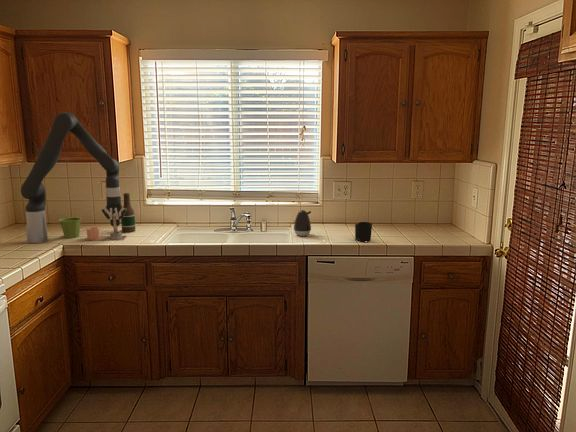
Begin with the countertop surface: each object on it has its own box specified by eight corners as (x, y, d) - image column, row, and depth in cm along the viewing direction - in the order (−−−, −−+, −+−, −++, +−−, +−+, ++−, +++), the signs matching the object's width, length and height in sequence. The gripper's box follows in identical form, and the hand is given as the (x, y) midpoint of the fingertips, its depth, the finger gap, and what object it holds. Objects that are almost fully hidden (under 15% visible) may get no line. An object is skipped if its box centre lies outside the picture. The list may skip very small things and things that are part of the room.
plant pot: (83, 235, 267) (81, 216, 265) (83, 239, 257) (82, 220, 255) (60, 237, 262) (58, 218, 260) (60, 241, 252) (58, 221, 250)
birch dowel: (113, 233, 255) (112, 215, 253) (114, 232, 257) (113, 215, 255) (117, 233, 256) (116, 215, 254) (118, 232, 258) (117, 215, 256)
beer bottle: (121, 234, 270) (118, 194, 265) (123, 231, 277) (120, 192, 273) (134, 234, 271) (132, 194, 267) (136, 231, 279) (134, 192, 274)
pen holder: (352, 238, 265) (353, 221, 263) (368, 238, 266) (369, 221, 264) (356, 242, 256) (357, 225, 254) (373, 242, 257) (374, 225, 255)
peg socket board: (83, 243, 250) (82, 235, 249) (89, 238, 260) (88, 231, 260) (123, 242, 253) (123, 235, 252) (127, 237, 263) (127, 230, 263)
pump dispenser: (313, 236, 269) (314, 211, 266) (297, 237, 266) (297, 212, 263) (307, 232, 279) (308, 208, 276) (291, 233, 276) (291, 209, 273)
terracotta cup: (86, 240, 252) (85, 229, 251) (89, 237, 258) (88, 227, 257) (98, 239, 253) (97, 229, 252) (101, 237, 259) (100, 226, 258)
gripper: (98, 196, 248) (100, 227, 251) (124, 196, 250) (126, 227, 253) (102, 194, 255) (104, 224, 258) (127, 194, 257) (129, 224, 260)
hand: (115, 225), depth 256 cm, fingers closed on birch dowel, 2 cm apart
